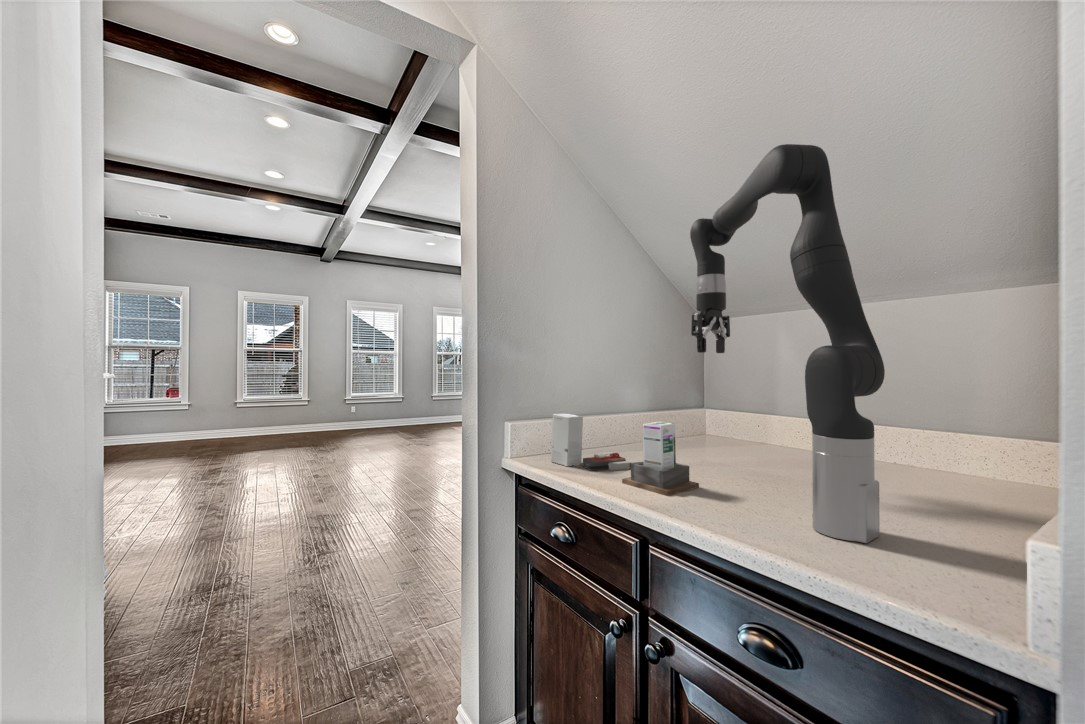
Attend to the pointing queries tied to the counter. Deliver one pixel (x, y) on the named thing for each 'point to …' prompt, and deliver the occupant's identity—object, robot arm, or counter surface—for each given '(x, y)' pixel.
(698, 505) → the counter surface
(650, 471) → the holder
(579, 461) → the skincare box
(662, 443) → the syrup box
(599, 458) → the walkie-talkie
